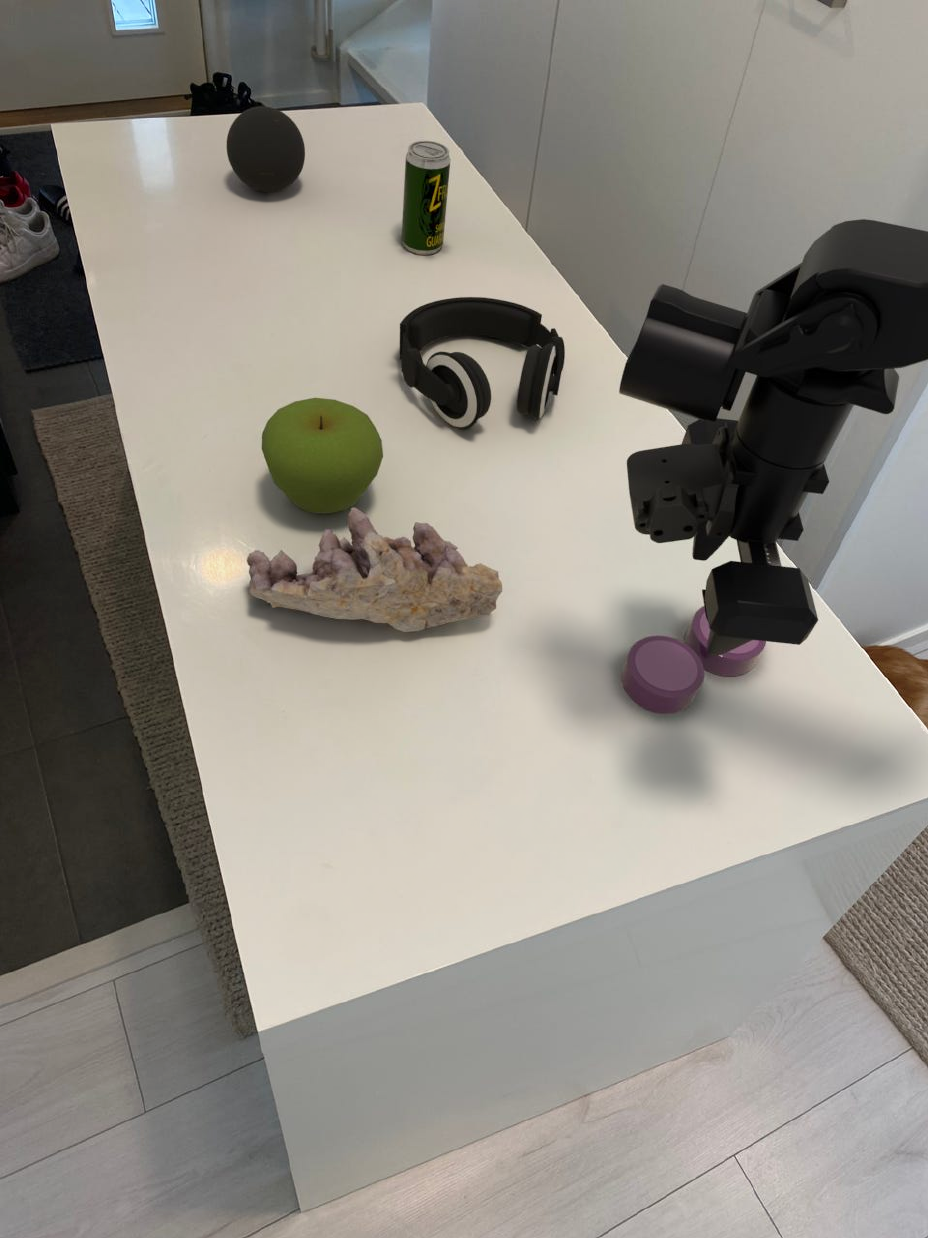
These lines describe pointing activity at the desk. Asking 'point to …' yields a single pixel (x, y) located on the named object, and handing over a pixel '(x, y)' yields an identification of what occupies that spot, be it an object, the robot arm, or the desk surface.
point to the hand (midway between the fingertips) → (706, 603)
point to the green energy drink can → (425, 197)
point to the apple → (322, 453)
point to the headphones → (458, 376)
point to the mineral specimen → (379, 579)
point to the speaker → (265, 149)
